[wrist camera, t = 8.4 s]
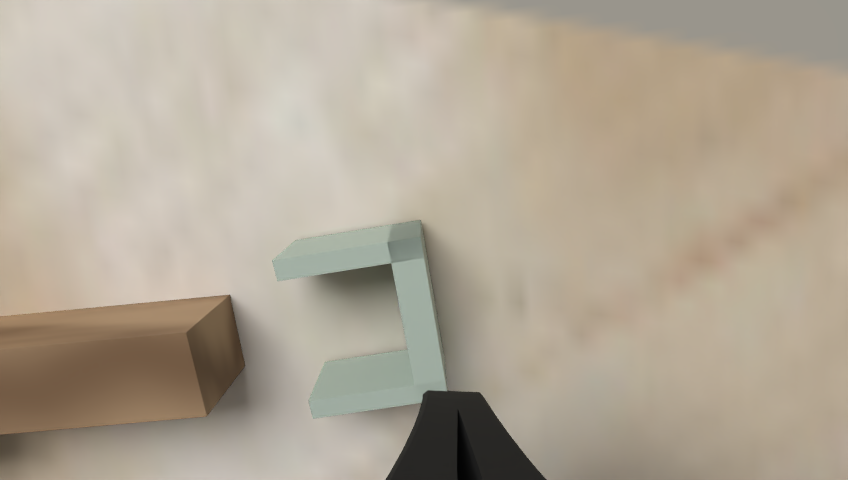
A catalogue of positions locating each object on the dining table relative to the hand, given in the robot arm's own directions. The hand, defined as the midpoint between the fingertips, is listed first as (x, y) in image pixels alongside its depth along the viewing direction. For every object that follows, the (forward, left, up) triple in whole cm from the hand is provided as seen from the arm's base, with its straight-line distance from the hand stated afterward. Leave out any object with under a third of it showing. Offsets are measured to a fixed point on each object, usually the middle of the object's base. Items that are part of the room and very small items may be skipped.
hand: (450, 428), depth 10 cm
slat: (0, +16, -10) cm, 19 cm away
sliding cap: (0, +3, -10) cm, 10 cm away
